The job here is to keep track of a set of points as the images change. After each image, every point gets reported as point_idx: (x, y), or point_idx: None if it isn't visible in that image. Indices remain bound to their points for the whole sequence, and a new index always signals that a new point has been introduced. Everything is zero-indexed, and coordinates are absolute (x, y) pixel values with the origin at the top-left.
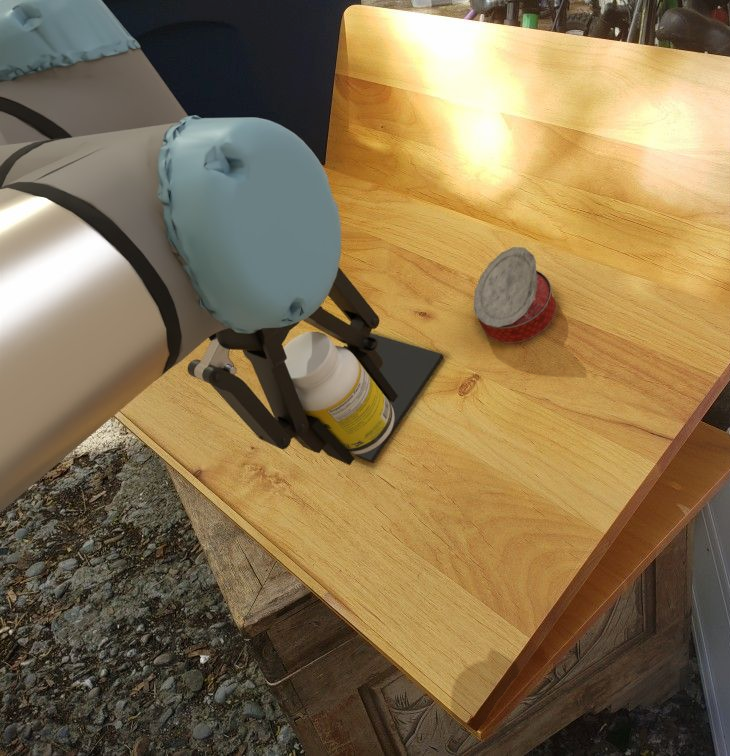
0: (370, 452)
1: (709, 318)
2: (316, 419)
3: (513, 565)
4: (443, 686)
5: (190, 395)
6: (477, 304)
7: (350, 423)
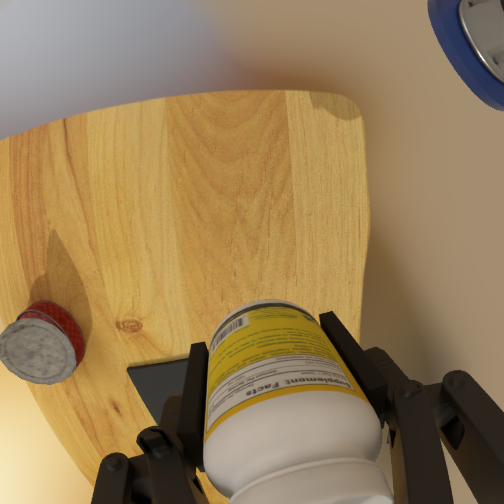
0: None
1: None
2: (371, 392)
3: (243, 140)
4: (360, 126)
5: None
6: (68, 370)
7: (315, 344)
